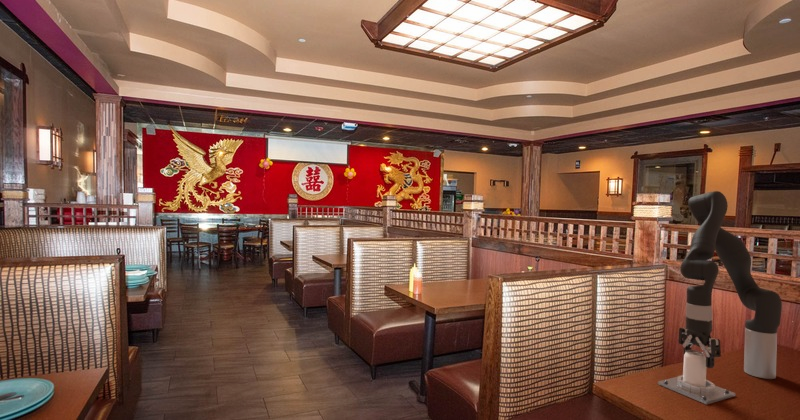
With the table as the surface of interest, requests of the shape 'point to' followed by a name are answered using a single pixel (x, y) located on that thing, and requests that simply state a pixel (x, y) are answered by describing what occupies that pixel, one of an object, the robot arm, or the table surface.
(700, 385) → the can
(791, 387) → the table surface
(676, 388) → the duct flange
